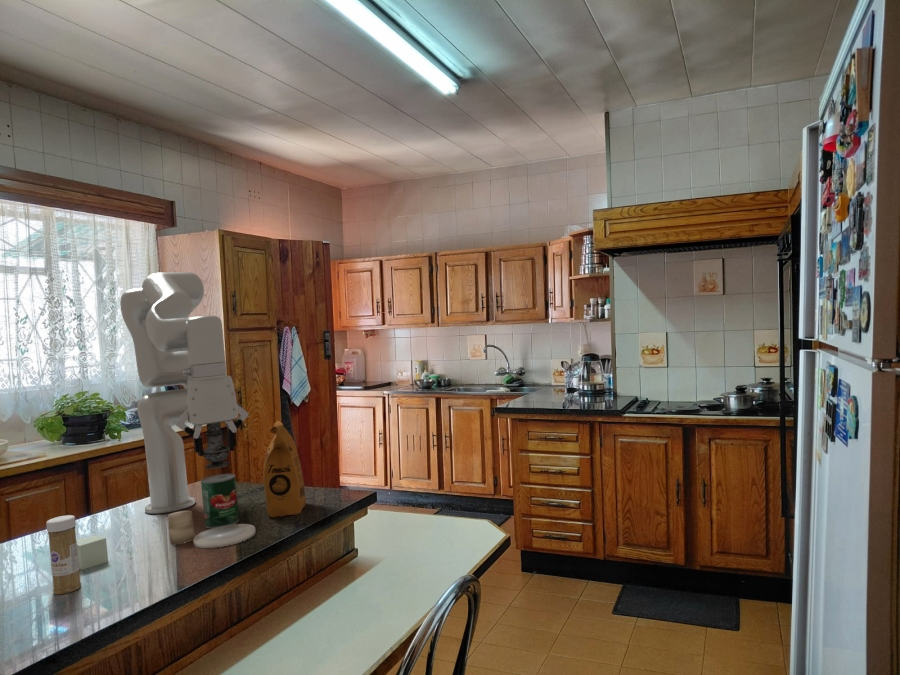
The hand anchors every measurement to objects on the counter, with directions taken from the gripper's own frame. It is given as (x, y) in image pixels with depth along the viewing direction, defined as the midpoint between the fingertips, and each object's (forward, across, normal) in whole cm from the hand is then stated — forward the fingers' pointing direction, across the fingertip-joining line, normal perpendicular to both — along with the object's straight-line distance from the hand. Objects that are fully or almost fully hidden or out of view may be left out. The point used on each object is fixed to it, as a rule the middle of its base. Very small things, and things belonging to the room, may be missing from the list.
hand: (216, 452), depth 140 cm
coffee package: (+19, +17, +11) cm, 28 cm away
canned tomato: (+20, +2, +13) cm, 23 cm away
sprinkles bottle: (+19, -30, -9) cm, 37 cm away
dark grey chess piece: (+3, 0, 0) cm, 3 cm away
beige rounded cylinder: (+19, -8, +6) cm, 22 cm away
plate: (+19, 0, 0) cm, 19 cm away
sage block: (+19, -26, +5) cm, 33 cm away
